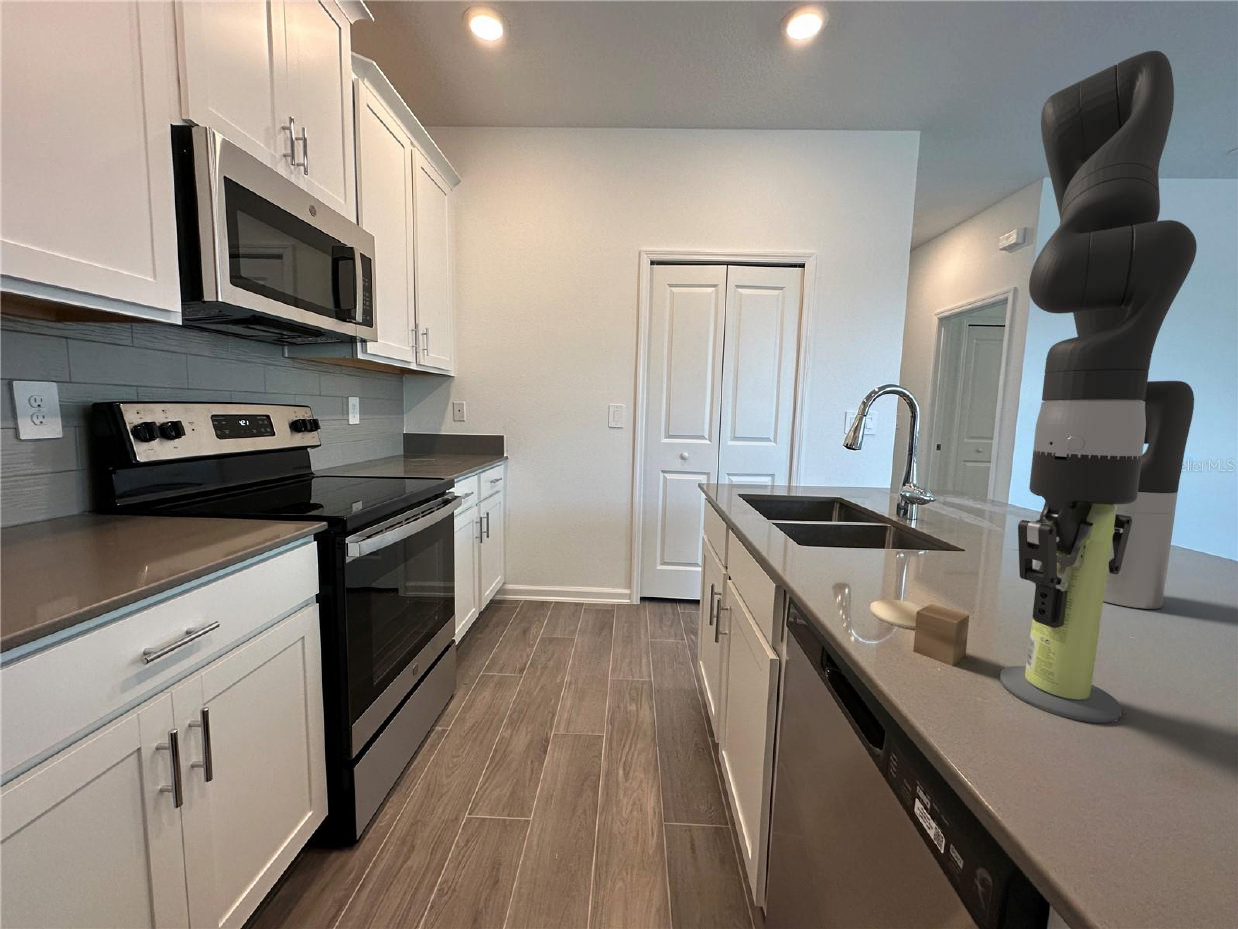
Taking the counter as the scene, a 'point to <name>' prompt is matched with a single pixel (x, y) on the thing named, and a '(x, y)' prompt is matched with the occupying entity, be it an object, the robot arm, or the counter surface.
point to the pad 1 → (896, 612)
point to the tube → (1075, 619)
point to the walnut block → (941, 634)
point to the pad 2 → (1061, 699)
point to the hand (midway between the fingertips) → (1065, 619)
